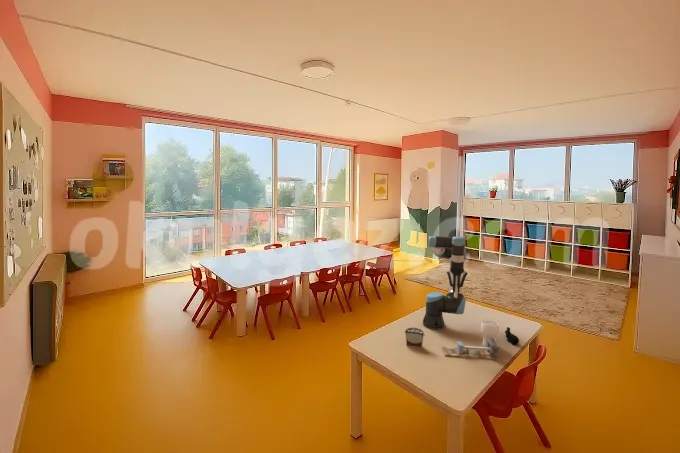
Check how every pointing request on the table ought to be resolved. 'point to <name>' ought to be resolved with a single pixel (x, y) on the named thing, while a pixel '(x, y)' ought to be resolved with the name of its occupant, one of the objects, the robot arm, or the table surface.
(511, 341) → the toy
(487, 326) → the cup
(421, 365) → the table surface
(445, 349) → the gauge bed
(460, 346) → the grey hammer
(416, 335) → the food container
